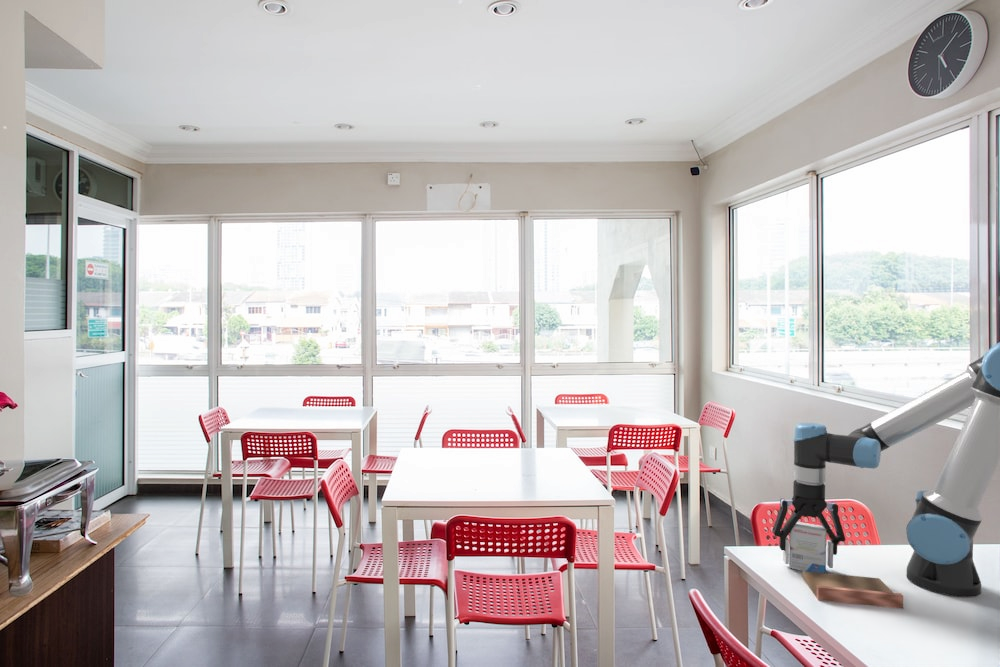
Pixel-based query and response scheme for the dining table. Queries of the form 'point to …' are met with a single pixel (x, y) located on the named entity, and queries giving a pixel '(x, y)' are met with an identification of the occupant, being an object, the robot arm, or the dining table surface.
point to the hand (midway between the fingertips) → (807, 564)
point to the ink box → (808, 548)
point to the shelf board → (852, 589)
